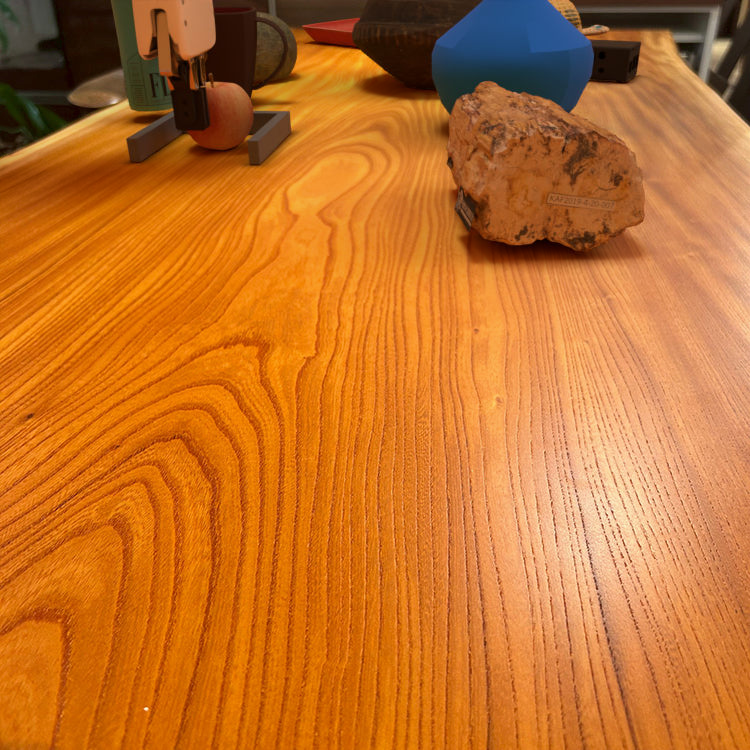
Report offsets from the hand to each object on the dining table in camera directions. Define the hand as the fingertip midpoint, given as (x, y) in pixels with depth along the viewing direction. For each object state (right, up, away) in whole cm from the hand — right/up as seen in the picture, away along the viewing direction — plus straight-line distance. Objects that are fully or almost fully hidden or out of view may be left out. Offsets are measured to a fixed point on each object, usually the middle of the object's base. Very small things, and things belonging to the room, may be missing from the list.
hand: (193, 128), depth 80 cm
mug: (0, +12, +29) cm, 31 cm away
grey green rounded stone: (-1, +23, +46) cm, 52 cm away
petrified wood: (+32, -12, -14) cm, 37 cm away
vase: (+35, +4, +13) cm, 37 cm away
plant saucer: (+16, +44, +81) cm, 94 cm away
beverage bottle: (-10, +8, +21) cm, 25 cm away
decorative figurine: (+51, +35, +64) cm, 89 cm away
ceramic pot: (+28, +19, +39) cm, 51 cm away
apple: (+1, 0, +8) cm, 8 cm away
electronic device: (+53, +21, +41) cm, 70 cm away
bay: (+1, 0, +8) cm, 8 cm away
